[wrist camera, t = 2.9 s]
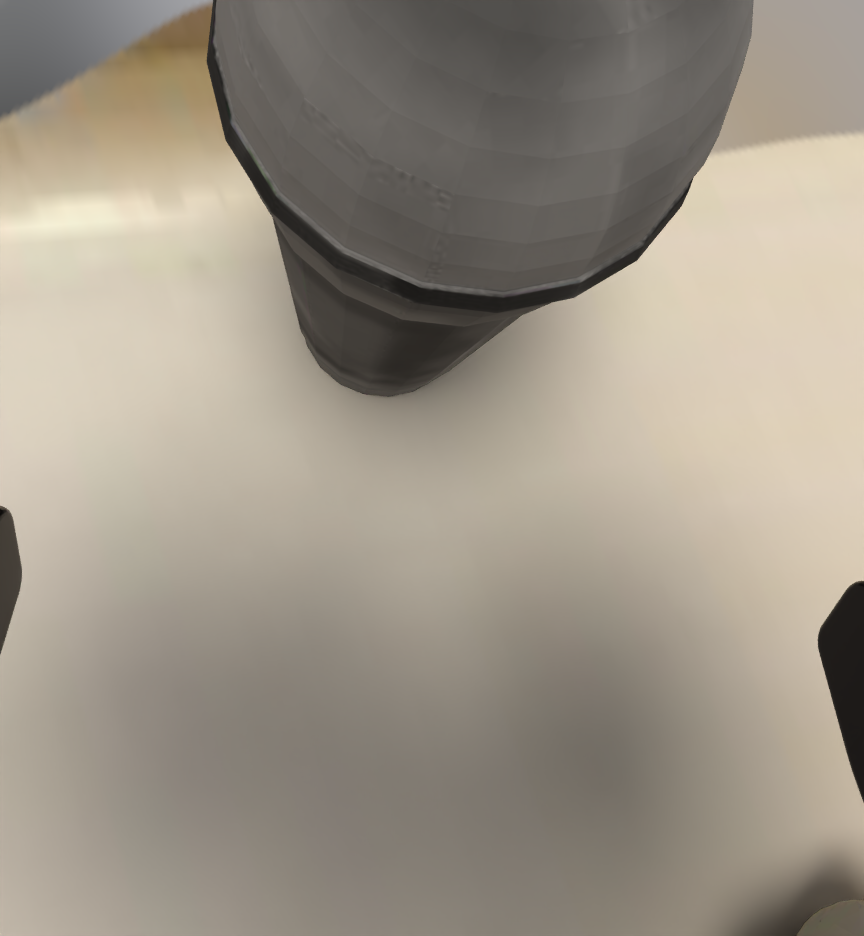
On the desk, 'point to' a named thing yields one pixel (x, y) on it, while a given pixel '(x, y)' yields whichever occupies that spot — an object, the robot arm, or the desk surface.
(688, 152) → the beverage cup
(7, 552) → the robot arm
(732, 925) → the desk surface
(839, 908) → the ceramic sculpture
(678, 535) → the desk surface
